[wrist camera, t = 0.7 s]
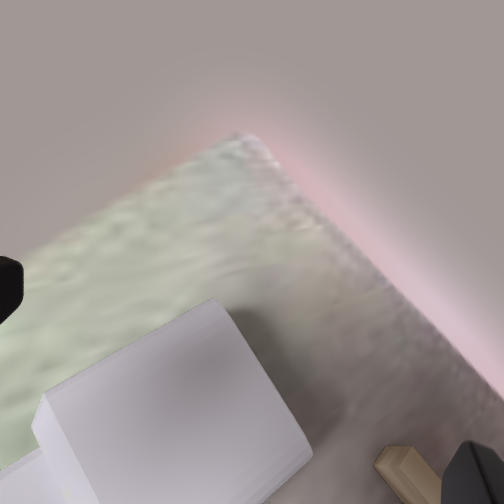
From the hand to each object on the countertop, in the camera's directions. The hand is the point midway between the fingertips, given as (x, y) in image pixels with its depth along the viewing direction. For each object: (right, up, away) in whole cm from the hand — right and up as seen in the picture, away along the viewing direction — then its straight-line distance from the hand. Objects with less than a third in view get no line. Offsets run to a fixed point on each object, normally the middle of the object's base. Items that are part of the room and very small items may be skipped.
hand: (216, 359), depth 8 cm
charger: (-6, -9, +13) cm, 17 cm away
